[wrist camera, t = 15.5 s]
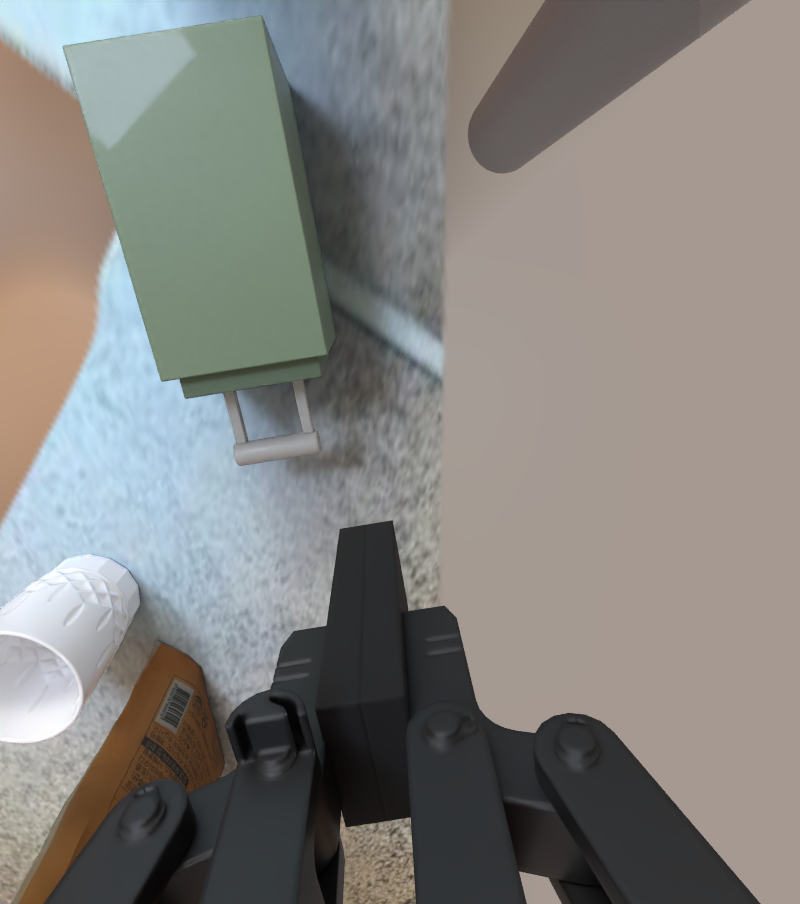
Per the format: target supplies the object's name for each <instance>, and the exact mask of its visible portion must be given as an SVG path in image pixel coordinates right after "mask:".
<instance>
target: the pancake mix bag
mask: <svg viewBox="0 0 800 904" xmlns="http://www.w3.org/2000/svg"><path fill="white" fill-rule="evenodd" d="M224 763H225V760H224V756H223V752H222V748H221V744H220V741H219V737H218V733H217V729H216V725H215V721H214V718H213V714H212V711H211V707H210V704H209V700H208V696H207V692H206V687H205V681H204V677H203V673H202V669H201V667H200V666H199V665H198V664H197V663H196V662H195V661H194V660H193V659H192V658H191V657H190V656H188V655H187V654H185V653H183V652H181V651H179V650H177V649H175V648H173V647H171V646H169V645H166V644H164V643H161V642H159V641H156V642H155V645H154V648H153V650H152V653H151V656H150V658H149V660H148V661H147V663H146V665H145V667H144V669H143V671H142V673H141V674H140V676H139V678H138V680H137V682H136V684H135V686H134V689H133V692H132V694H131V697H130V699H129V701H128V703H127V705H126V706H125V708H124V710H123V712H122V714H121V715H120V717H119V718H118V720H117V721H116V723H115V724H114V726H113V727H112V729H111V731H110V733H109V735H108V736H107V738H106V740H105V742H104V744H103V745H102V747H101V748H100V750H99V751H98V753H97V754H96V756H95V757H94V759H93V761H92V762H91V764H90V765H89V767H88V769H87V770H86V772H85V774H84V775H83V777H82V779H81V780H80V782H79V784H78V785H77V787H76V788H75V789H74V791H73V792H72V794H71V795H70V796H69V798H68V799H67V801H66V802H65V804H64V805H63V807H62V809H61V811H60V813H59V815H58V817H57V818H56V820H55V822H54V824H53V826H52V828H51V830H50V832H49V834H48V836H47V838H46V840H45V843H44V845H43V847H42V849H41V851H40V853H39V854H38V856H37V858H36V859H35V861H34V862H33V864H32V866H31V867H30V869H29V870H28V872H27V874H26V875H25V877H24V879H23V880H22V882H21V884H20V886H19V888H18V890H17V891H16V893H15V895H14V897H13V899H12V901H11V903H10V904H44V902H45V901H46V899H47V898H48V897H49V895H50V894H51V892H52V891H53V890H54V888H55V887H56V885H57V884H58V883H59V881H60V880H61V878H62V877H63V876H64V874H65V873H66V871H67V870H68V869H69V867H70V866H71V864H72V863H73V862H74V860H75V859H76V857H77V856H78V855H79V853H80V852H81V850H82V849H83V848H84V846H85V845H86V843H87V842H88V841H89V839H90V838H91V837H92V835H93V834H94V832H95V831H96V830H97V828H98V827H99V825H100V824H101V823H102V821H103V820H104V818H105V817H106V816H107V814H108V813H109V812H110V811H111V810H112V809H113V808H114V806H115V805H116V804H117V803H118V802H119V801H120V800H121V799H122V798H124V797H125V796H126V795H128V794H129V793H130V792H132V791H133V790H135V789H136V788H138V787H140V786H142V785H145V784H147V783H149V782H152V781H156V780H164V779H170V780H173V781H176V782H179V783H180V784H181V785H182V786H183V788H184V789H185V790H186V792H187V793H189V792H192V791H194V790H196V789H198V788H201V787H203V786H205V785H207V784H210V783H212V782H214V781H216V780H218V779H219V778H220V777H221V774H222V771H223V767H224Z"/></svg>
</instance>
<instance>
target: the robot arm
mask: <svg viewBox="0 0 800 904" xmlns="http://www.w3.org/2000/svg"><path fill="white" fill-rule="evenodd" d="M225 728H226V731H227V734H228V737H229V740H230V743H231V746H232V749H233V752H234V755H235V758H236V761H237V767H236V769H234V770H233V771H232V772H230V773H229V774H227V775H226V776H224V777H222V778H220V779H218V780H216V781H214V782H212V783H210V784H207V785H205V786H203V787H201V788H198V789H196V790H194V791H192V792H189V793H187V792H186V790H185V789H184V788H183V786H182V785H181V784H180V783H179V782H176V781H173V780H170V779H164V780H156V781H152V782H149V783H147V784H145V785H142V786H140V787H138V788H136V789H135V790H133V791H132V792H130V793H129V794H128V795H126V796H125V797H124V798H122V799H121V800H120V801H119V802H118V803H117V804H116V805H115V806H114V808H113V809H112V810H111V811H110V812H109V813H108V814H107V816H106V817H105V818H104V820H103V821H102V823H101V824H100V825H99V827H98V828H97V830H96V831H95V832H94V834H93V835H92V837H91V838H90V839H89V841H88V842H87V843H86V845H85V846H84V848H83V849H82V850H81V852H80V853H79V855H78V856H77V857H76V859H75V860H74V862H73V863H72V864H71V866H70V867H69V869H68V870H67V871H66V873H65V874H64V876H63V877H62V878H61V880H60V881H59V883H58V884H57V885H56V887H55V888H54V890H53V891H52V892H51V894H50V895H49V897H48V898H47V899H46V901H45V902H44V904H343V886H344V866H345V858H344V851H343V846H342V842H341V838H340V820H341V810H342V814H343V818H344V822H345V826H346V827H351V826H358V825H364V824H370V823H377V822H383V821H390V820H396V819H402V818H409V817H411V828H412V844H413V860H414V876H415V893H416V904H527V903H526V899H525V895H524V891H523V887H522V882H521V878H520V874H519V871H521V872H525V873H530V874H535V875H539V876H544V877H548V878H549V879H550V882H551V884H552V886H553V887H554V889H555V891H556V893H557V895H558V897H559V899H560V901H561V903H562V904H760V903H759V902H758V900H757V899H756V898H755V897H754V896H753V894H752V893H751V892H750V891H749V890H748V889H747V887H746V886H745V885H744V884H743V883H742V882H741V880H740V879H739V878H738V877H737V876H736V875H735V873H734V872H733V871H732V870H731V869H730V868H729V867H728V865H727V864H726V863H725V862H724V860H723V859H722V858H721V857H720V856H719V855H718V853H717V852H716V851H715V850H714V849H713V848H712V846H711V845H710V844H709V843H708V842H707V841H706V839H705V838H704V837H703V836H702V835H701V834H700V832H699V831H698V830H697V829H696V828H695V826H694V825H693V824H692V823H691V822H690V821H689V819H688V818H687V817H686V816H685V815H684V814H683V812H682V811H681V810H680V809H679V808H678V807H677V805H676V804H675V803H674V802H673V801H672V800H671V799H670V797H669V796H668V795H667V794H666V793H665V791H664V790H663V789H662V788H661V787H660V786H659V784H658V783H657V782H656V781H655V780H654V779H653V778H652V776H651V775H650V774H649V773H648V771H647V770H646V769H645V768H644V767H643V766H642V764H641V763H640V762H639V761H638V760H637V759H636V757H635V756H634V755H633V754H632V753H631V752H630V751H629V749H628V748H627V747H626V746H625V745H624V743H623V742H622V741H621V740H620V739H619V738H618V736H617V735H616V734H615V733H614V732H613V731H612V730H611V729H610V728H608V727H607V726H606V725H605V724H603V723H602V722H601V721H599V720H596V719H594V718H592V717H589V716H587V715H582V714H573V713H566V714H561V715H556V716H553V717H551V718H550V719H548V720H546V721H545V722H543V723H542V724H541V725H540V727H539V728H538V730H537V731H536V733H529V732H521V731H515V730H511V729H507V728H504V727H501V726H499V725H497V724H495V723H493V722H492V721H491V720H489V719H488V718H487V717H486V716H485V715H484V714H483V713H482V711H481V710H480V709H479V707H478V704H477V702H476V698H475V694H474V690H473V686H472V681H471V677H470V673H469V669H468V664H467V660H466V656H465V652H464V648H463V643H462V639H461V635H460V630H459V627H458V622H457V618H456V617H455V616H454V615H453V614H452V613H451V612H450V611H449V610H448V609H447V608H446V607H445V606H439V607H433V608H426V609H420V610H414V611H408V606H407V599H406V593H405V587H404V582H403V576H402V571H401V565H400V559H399V554H398V548H397V542H396V537H395V531H394V526H393V520H392V521H386V522H380V523H374V524H368V525H361V526H355V527H349V528H343V529H340V532H339V539H338V547H337V554H336V561H335V568H334V576H333V583H332V590H331V597H330V604H329V612H328V619H327V626H324V627H317V628H311V629H305V630H299V631H294V632H293V633H292V634H291V635H290V637H289V638H288V639H287V641H286V642H285V643H284V645H283V646H282V647H281V650H280V654H279V658H278V662H277V668H276V670H275V674H274V678H273V683H272V686H271V690H268V691H264V692H261V693H258V694H256V695H254V696H252V697H250V698H249V699H247V700H245V701H244V702H242V703H241V704H240V705H239V706H238V707H237V708H236V709H235V710H234V711H233V712H232V713H231V715H230V717H229V719H228V720H227V722H226V724H225Z"/></svg>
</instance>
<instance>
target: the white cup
mask: <svg viewBox="0 0 800 904" xmlns="http://www.w3.org/2000/svg"><path fill="white" fill-rule="evenodd" d="M139 605H140V597H139V588H138V585H137V583H136V582H135V580H134V579H133V577H132V576H131V574H130V573H129V571H128V570H127V569H125V568H124V567H122V566H121V565H119V564H118V563H116V562H114V561H113V560H111V559H110V558H105V557H101V556H96V555H91V554H85V555H80V556H75V557H70V558H67V559H65V560H64V561H63V562H61V563H60V564H59V565H57V566H56V567H55V568H53V569H52V570H51V571H49V572H48V573H47V574H46V575H45V576H43V577H42V578H40V579H38V580H35V581H34V582H33V583H32V584H30V585H29V586H28V587H27V588H25V589H24V590H22V591H21V592H20V593H18V594H17V595H16V596H15V597H13V598H12V599H11V600H10V601H9V602H7V603H6V604H5V605H4V606H2V607H1V608H0V741H1V742H6V743H15V744H29V743H37V742H42V741H45V740H48V739H51V738H54V737H56V736H58V735H60V734H61V733H63V732H64V731H66V730H67V729H68V728H69V727H70V726H71V725H72V724H73V723H74V722H75V721H76V719H77V718H78V716H79V715H80V713H81V711H82V709H83V708H84V706H85V704H86V703H87V701H88V699H89V697H90V696H91V694H92V692H93V691H94V689H95V687H96V686H97V684H98V682H99V681H100V679H101V677H102V676H103V674H104V672H105V670H106V669H107V667H108V665H109V664H110V662H111V660H112V659H113V657H114V655H115V653H116V651H117V650H118V648H119V645H120V644H121V642H122V640H123V638H124V637H125V634H126V630H127V629H128V627H129V625H130V624H131V622H132V620H133V619H134V616H135V614H136V612H137V610H138V608H139Z"/></svg>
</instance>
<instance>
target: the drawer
mask: <svg viewBox="0 0 800 904" xmlns="http://www.w3.org/2000/svg"><path fill="white" fill-rule="evenodd" d="M329 359H330V356H329V352H328V354H327V355H324V356H318V357H311V358H305V359H299V360H293V361H287V362H280V363H274V364H268V365H262V366H256V367H249V368H243V369H237V370H231V371H225V372H219V373H212V374H206V375H200V376H194V377H188V378H181V379H180V383H181V386H182V390H183V393H184V397H185V398H186V399H188V398H194V397H200V396H206V395H212V394H219V393H224V397H225V401H226V405H227V409H228V413H229V417H230V420H231V424H232V428H233V432H234V436H235V440H236V444H235V445H234V457H235V460H236V462H237V464H238V465H239V466H243V465H250V464H256V463H262V462H268V461H274V460H280V459H286V458H292V457H298V456H305V455H311V454H317V453H321V441H320V436H319V433H318V431H317V430H314V427H313V422H312V418H311V413H310V408H309V403H308V399H307V394H306V389H305V384H304V380H305V379H311V378H317V377H321V376H322V375H323V372H324V370H325V368H326V366H327V364H328V362H329ZM286 382H292V384H293V388H294V393H295V398H296V402H297V407H298V411H299V416H300V421H301V425H302V430H303V432H301V433H295V434H289V435H283V436H277V437H270V438H264V439H258V440H252V441H248V437H247V433H246V429H245V425H244V421H243V417H242V413H241V409H240V405H239V402H238V398H237V394H236V391H237V390H243V389H249V388H256V387H262V386H268V385H274V384H280V383H286Z"/></svg>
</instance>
